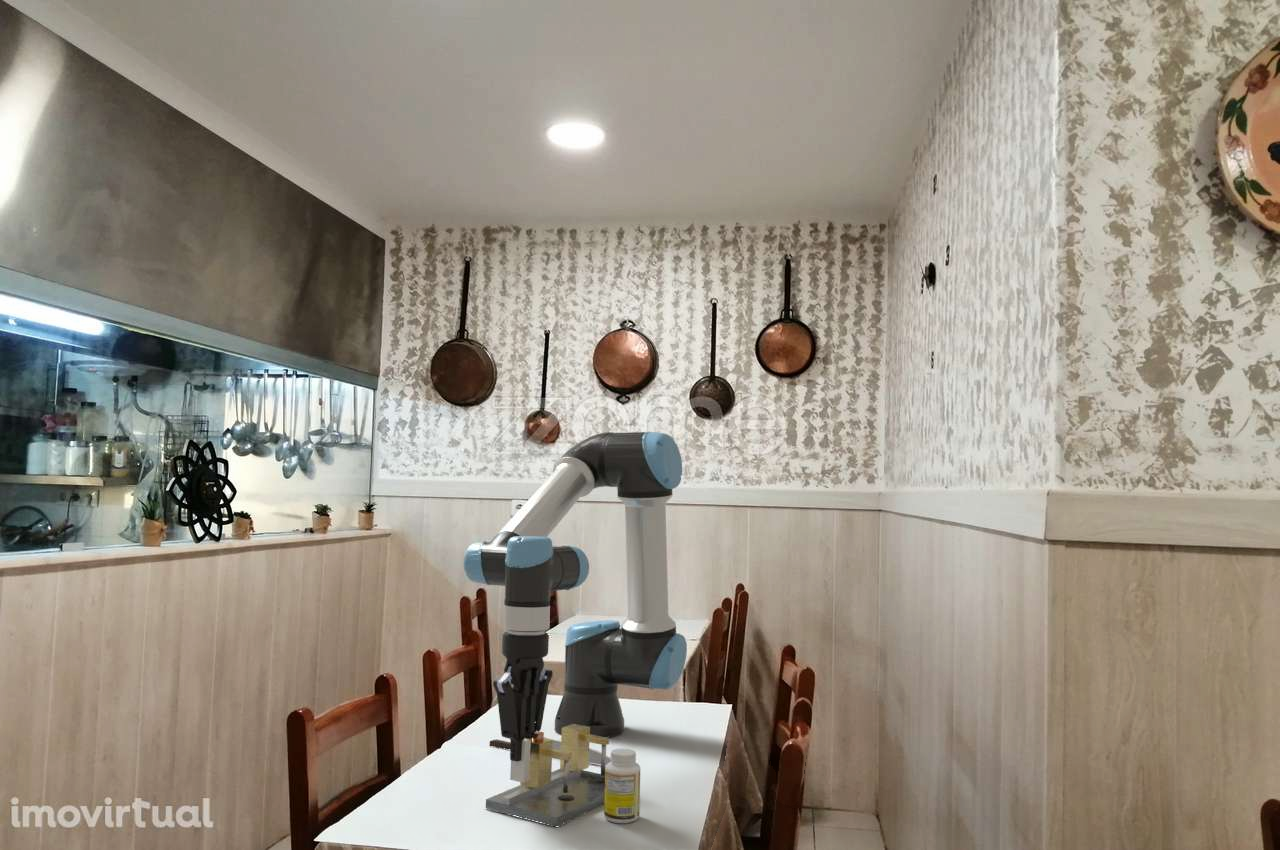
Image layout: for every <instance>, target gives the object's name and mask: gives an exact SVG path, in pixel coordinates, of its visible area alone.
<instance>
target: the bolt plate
mask: <svg viewBox="0 0 1280 850" xmlns="http://www.w3.org/2000/svg"><path fill="white" fill-rule="evenodd" d="M563 777H564V769H560V768H558V769H556V770H553V771H551V783H550V784H548V785H546V786H543V787H541V788H539V789H536V788H532V787H528V786H524V785H520V784H519V785H517V786H515V787H513V788H510V789H507V790H505V791H502V792H501V793H500V792H499V793H498V794H495V795H493V796H490V797H488V798H486V799H485V809H486V808H487V809H490V810H489V811H491V810H493V811H492V812H495V811H497V812H496V813H499V812H501V813H500V814H503V813H506V814H510V815H516V816H519V817H522V818H527V819H530V820H534V821H538V822H542V823H545V824H549V825H552V826H559V825H561V824H563V823H565V822H567V821H569V820H571V821H573V820H575V819H576V817H577V818H579V817H580V815H581V816H583V815H584V813H585V814H587V813H589V812H590V810H591V811H592V809H593V810H594V808H595V809H597V808H598V807H600V806H602V805H605V775H604V776H602V775H601V773H598V772H594V771H588V770H585V769H584V770H582V771H579V772H573V771H569V775H568V793H563ZM487 809H486V810H487ZM588 811H589V812H588ZM586 812H587V813H586ZM506 814H505V815H506ZM582 814H583V815H582ZM510 815H509V816H510ZM578 816H579V817H578ZM522 818H521V819H522ZM574 818H575V819H574ZM572 819H573V820H572ZM569 822H570V821H569ZM567 823H568V822H567ZM545 824H544V825H545ZM565 824H566V823H565ZM563 825H564V824H563ZM552 826H551V827H552ZM561 826H562V825H561ZM559 827H560V826H559Z"/></svg>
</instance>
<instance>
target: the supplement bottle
mask: <svg viewBox="0 0 1280 850" xmlns="http://www.w3.org/2000/svg"><path fill="white" fill-rule="evenodd" d="M636 753H637V752H636V751H635V750H633V749H630V748H614V749H612V750H611V752H610V756H609V757H610V759H611V762H609V763H608V764H607V765H606V769H605V803H604V804H603V807H604V811H603V813H604V818H605V819H606V820H607V821H609V822H610V823H611V822H612V823H615V824H629V823H633V822H636V821H637V820H638V819H639V817H640V797H641V796H640V794H641V766H640V764H639V763H638V762H636V760H637V755H636Z"/></svg>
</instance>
